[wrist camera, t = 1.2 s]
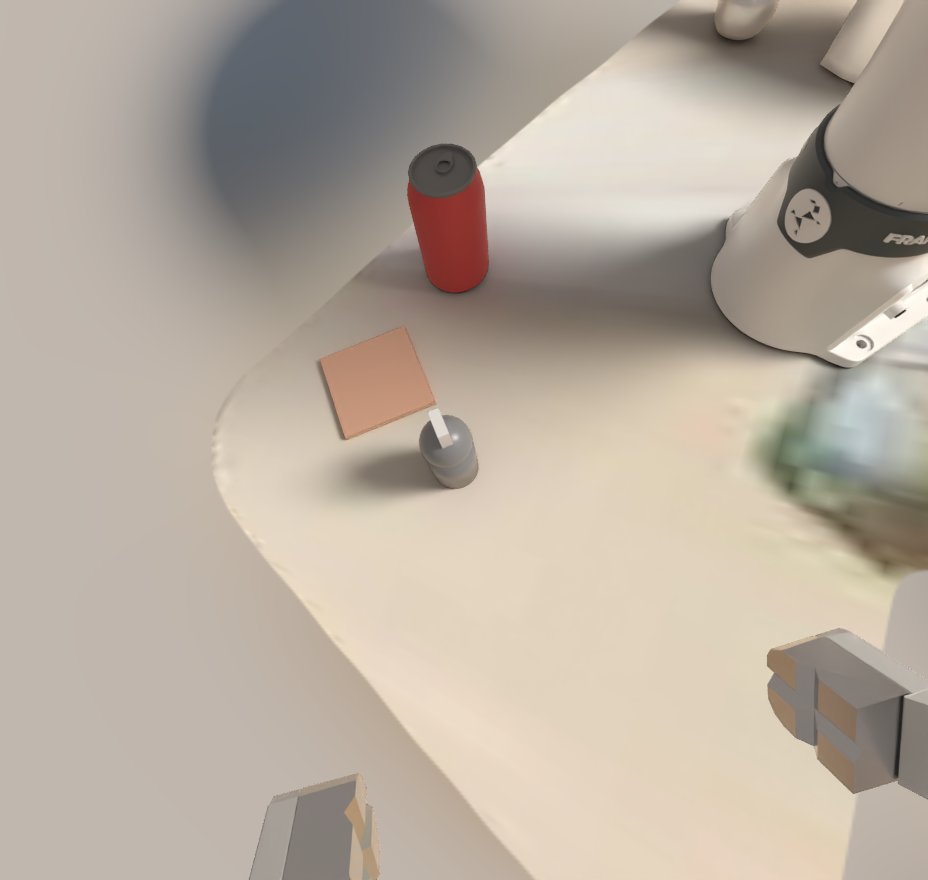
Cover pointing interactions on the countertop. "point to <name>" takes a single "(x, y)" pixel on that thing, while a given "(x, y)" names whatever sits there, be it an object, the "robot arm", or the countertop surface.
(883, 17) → the white rounded block
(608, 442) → the countertop surface
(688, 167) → the countertop surface
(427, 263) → the beer can
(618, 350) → the countertop surface
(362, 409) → the tile
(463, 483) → the grey pump bottle
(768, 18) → the plastic bottle
